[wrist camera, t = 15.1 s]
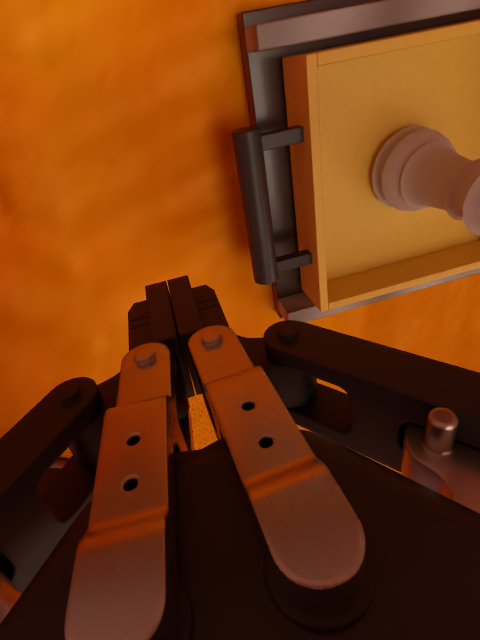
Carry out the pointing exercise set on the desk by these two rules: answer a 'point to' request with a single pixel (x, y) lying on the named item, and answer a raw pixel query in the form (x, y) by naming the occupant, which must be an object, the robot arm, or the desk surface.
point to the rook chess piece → (428, 176)
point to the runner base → (270, 103)
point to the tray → (364, 163)
